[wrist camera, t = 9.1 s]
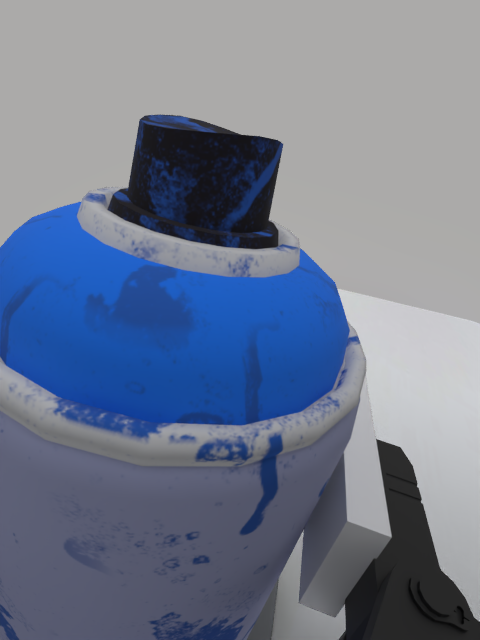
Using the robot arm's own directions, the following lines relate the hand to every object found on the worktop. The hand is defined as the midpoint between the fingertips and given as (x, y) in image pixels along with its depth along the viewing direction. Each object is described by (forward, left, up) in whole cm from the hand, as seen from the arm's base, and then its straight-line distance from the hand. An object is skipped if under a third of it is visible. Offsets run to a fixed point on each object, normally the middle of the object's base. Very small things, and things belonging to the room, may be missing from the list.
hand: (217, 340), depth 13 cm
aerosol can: (0, +5, -14) cm, 14 cm away
